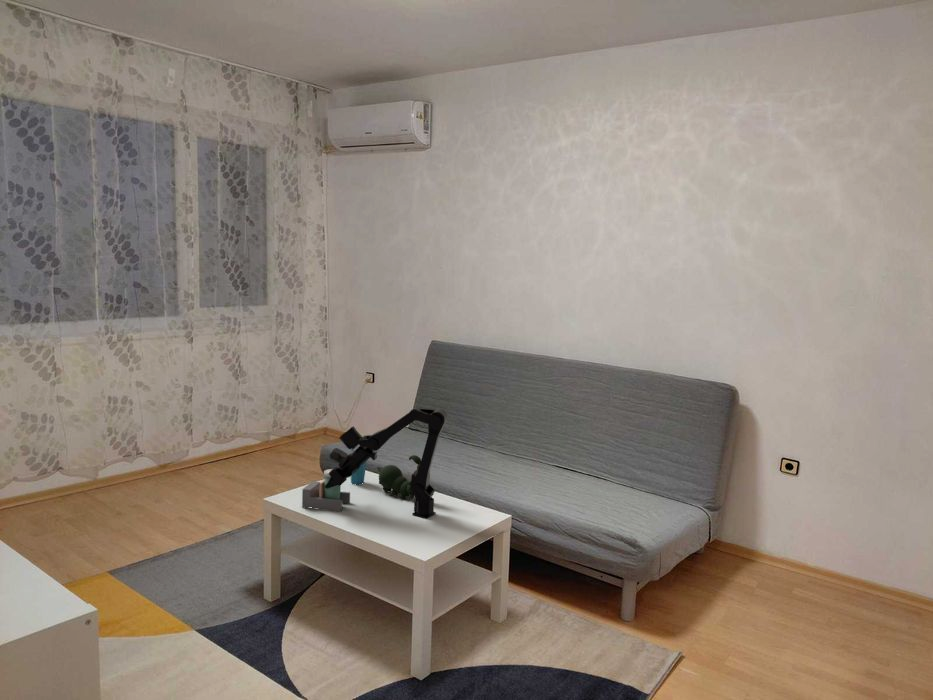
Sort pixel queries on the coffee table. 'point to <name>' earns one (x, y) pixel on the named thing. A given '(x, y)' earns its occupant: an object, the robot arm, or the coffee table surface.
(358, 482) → the cup
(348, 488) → the coffee table surface
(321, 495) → the pusher plate
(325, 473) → the jar
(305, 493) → the pusher lane
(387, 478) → the toy figurine
